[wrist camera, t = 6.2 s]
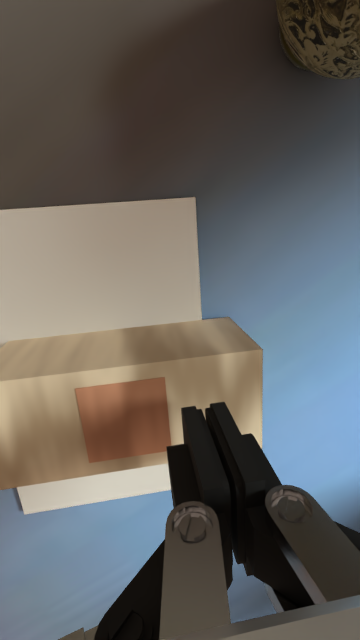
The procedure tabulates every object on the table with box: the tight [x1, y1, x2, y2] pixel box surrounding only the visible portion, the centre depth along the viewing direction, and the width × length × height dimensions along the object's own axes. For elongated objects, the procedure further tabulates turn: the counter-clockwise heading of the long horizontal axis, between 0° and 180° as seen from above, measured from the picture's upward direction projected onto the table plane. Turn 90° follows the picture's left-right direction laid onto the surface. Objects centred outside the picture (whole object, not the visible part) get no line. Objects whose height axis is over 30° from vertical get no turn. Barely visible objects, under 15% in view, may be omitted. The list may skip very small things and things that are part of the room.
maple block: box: [0, 317, 263, 490], centre depth 16 cm, size 5×5×12 cm
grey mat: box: [0, 197, 202, 514], centre depth 18 cm, size 18×12×1 cm, turn 4°
